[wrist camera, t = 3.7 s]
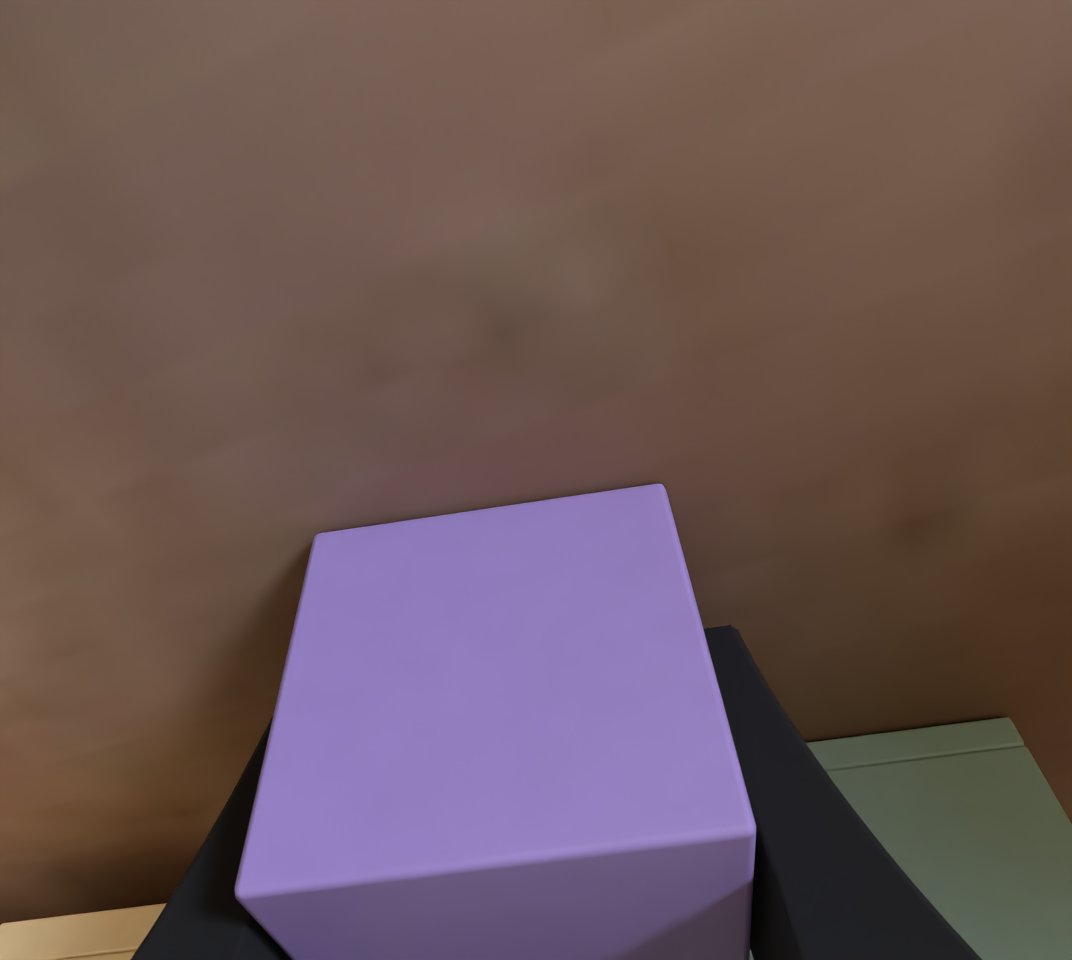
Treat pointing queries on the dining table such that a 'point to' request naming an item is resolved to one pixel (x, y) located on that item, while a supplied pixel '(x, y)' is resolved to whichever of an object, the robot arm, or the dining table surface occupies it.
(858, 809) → the cabinet
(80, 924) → the drawer
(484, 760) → the block
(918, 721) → the dining table surface
